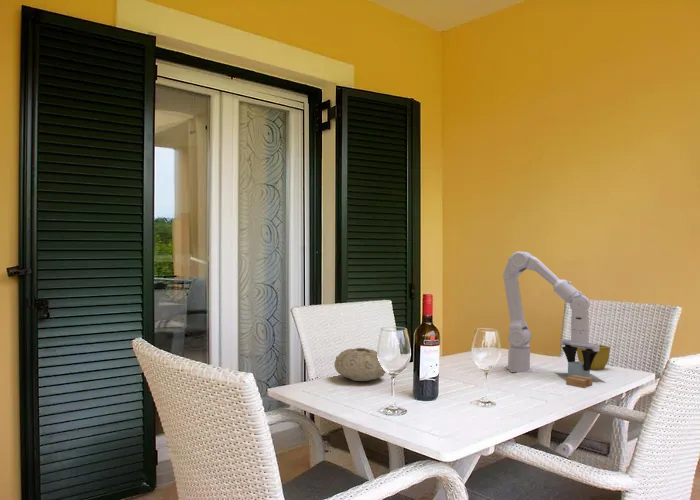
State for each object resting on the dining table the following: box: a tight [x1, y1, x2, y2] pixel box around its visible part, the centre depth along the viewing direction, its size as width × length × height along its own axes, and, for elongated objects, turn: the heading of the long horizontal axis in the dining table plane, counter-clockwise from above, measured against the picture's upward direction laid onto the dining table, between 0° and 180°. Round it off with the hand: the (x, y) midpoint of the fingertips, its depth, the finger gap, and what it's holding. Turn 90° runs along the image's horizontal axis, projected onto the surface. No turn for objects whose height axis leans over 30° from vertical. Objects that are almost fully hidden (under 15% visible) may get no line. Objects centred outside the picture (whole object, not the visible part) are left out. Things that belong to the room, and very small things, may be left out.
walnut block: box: [565, 375, 593, 389], centre depth 175 cm, size 6×6×3 cm
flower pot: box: [576, 342, 611, 371], centre depth 202 cm, size 9×9×9 cm
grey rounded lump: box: [333, 347, 387, 382], centre depth 179 cm, size 18×18×10 cm
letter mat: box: [554, 372, 607, 384], centre depth 186 cm, size 13×13×1 cm
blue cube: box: [567, 360, 591, 378], centre depth 186 cm, size 5×5×5 cm
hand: (579, 368), depth 186 cm, fingers open, 6 cm apart
